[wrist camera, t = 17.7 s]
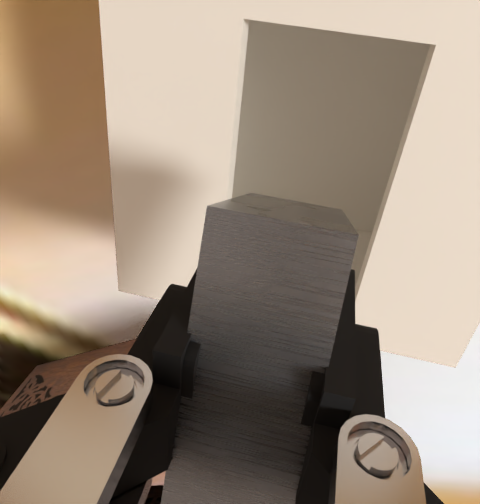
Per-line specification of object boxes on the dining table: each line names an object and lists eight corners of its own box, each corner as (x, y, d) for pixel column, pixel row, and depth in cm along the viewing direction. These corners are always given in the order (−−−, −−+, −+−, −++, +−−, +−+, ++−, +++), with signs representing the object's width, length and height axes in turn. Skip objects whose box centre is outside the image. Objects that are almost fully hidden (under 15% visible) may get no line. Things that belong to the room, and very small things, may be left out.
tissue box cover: (119, 454, 49) (70, 551, 41) (38, 363, 44) (-37, 454, 35) (339, 425, 38) (334, 548, 30) (269, 300, 33) (240, 408, 25)
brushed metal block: (211, 417, 14) (251, 192, 12) (291, 438, 13) (341, 209, 12) (152, 553, 9) (206, 205, 7) (276, 591, 8) (358, 234, 7)
